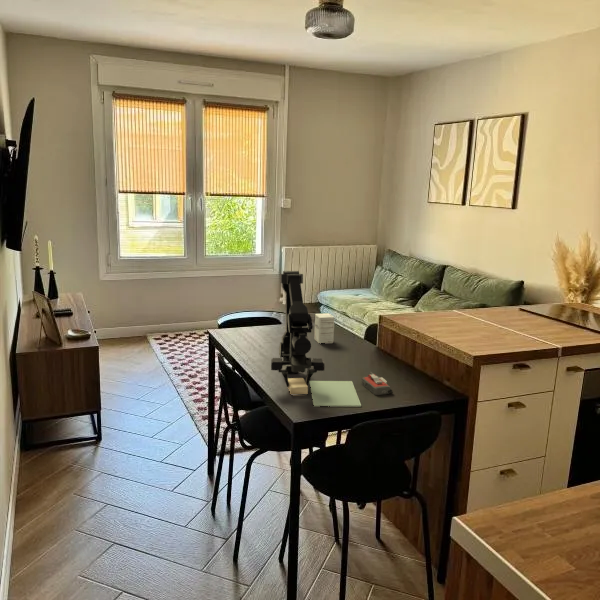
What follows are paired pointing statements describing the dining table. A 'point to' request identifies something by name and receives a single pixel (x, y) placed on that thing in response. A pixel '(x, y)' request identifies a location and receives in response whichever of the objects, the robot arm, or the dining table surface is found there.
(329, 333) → the supplement box
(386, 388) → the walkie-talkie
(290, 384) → the brass block
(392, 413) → the dining table surface
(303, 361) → the robot arm
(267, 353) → the dining table surface
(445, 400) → the dining table surface
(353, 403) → the rubber mat
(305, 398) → the dining table surface
